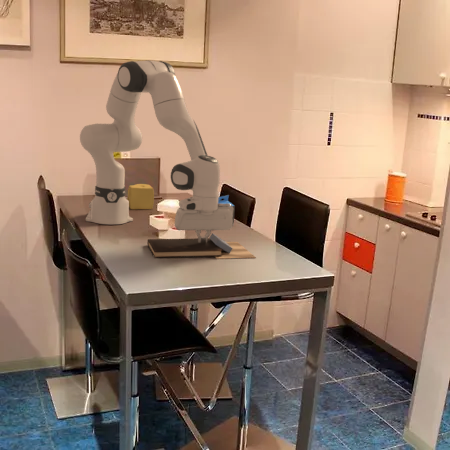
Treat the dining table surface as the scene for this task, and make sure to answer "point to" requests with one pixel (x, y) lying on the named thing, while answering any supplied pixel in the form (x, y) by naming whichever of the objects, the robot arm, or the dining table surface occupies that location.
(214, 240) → the blue-grey flat block
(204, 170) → the robot arm
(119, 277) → the dining table surface
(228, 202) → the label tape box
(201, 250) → the hardcover book
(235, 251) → the mat
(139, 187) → the cheese
